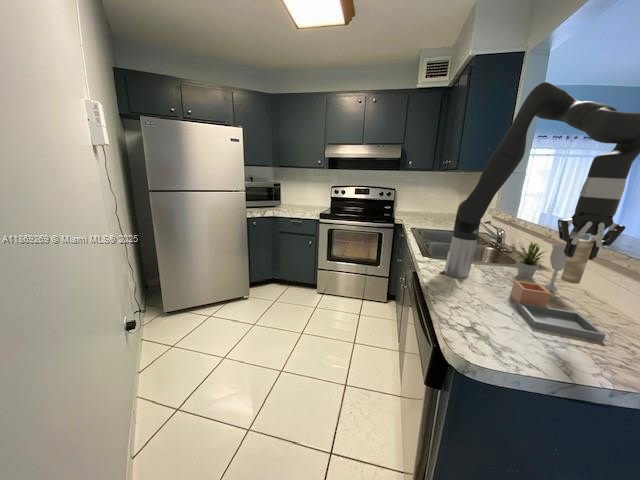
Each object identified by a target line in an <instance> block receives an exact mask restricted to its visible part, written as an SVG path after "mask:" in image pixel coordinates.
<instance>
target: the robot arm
mask: <svg viewBox="0 0 640 480" xmlns="http://www.w3.org/2000/svg"><path fill="white" fill-rule="evenodd" d="M535 117H537V118H539V119H542V120H548V121H557V122H562V123H565V124H567V126H570V127H572V128H574V129H576V130H579V131H580V132H581V131H582V132H584V133H585V134H586V135H587V136H588V137H589V138H590V139H591V140H593V141H595V142H598V143H602V144H611V145H612V144H616V145H615V146H614V147H613V149H612V150H611V151H610V152H609V153H608V152H607V153H603V154H602V153H601V154H598V155H597V156H594V158H593V160H592V161H591V164H590V167H589V169H588V173H587V177H586V178H585V181H584V183H583V185H582V187H581V189H580V192H579V196H578V200H577V203H576V206H575V209H574V214H572V216H571V217H570V218H567V219H562V218H559V219H558V220H557V229H558V238H559V240H562V241H564V242H566V244H565V245H564V246H565V249H564V254H565V255H566V256H567V257H573V254H574V251H575V248H576V245H575V244H576V243H577V242H578V240H579V239H581V238H583V237H584V236H585V234H586V235H587V234H589V238H590V240H589V241H592V242H594V245H593V248H592V250H591V253H590V256H589V259H588V261H589V260H590V261H593V260H594V259H596V258H597V256H598V253H599V250H600V248H601V247H605V246H606V247H610V246H612V244H613V243H614V242H615V241H616V240H617V238H619V236H620V235H621V234H622V233H623V232H624V231H625V229H626V226H625V225H622V224H617V223H615V222H614V220H613V218H614V216H615V215H616V213H617V210H618V208H619V205H620V202H621V201H622V200H621V198H622V197H623V194H624V191H625V187H626V183H627V179H628V176H629V174H630V171H631V169H632V165H633V163H634V161H635V160H636V159H637V157H638V156H639V155H640V112H626V111H623V112H622V111H618V110H617V109H616V107H613V106H611V105H609V104H605V103H601V102H597V101H591V100H584V101H582V100H581V101H580V100H578V99H576V98H574V96H572V95H571V94H569V92H567V91H566V90H565V89H564V88H563V89H562V88H560V87H559V86H557V85H556V84H553V83H551V82H548V81H543V82H540V83H539V84H538V85H536V86H535V87H534V88H533V89H532V90H531V91H530V93H528V94H527V96H526V98H525V100H524V101H523V103H522V105H521V107H520V108H519V109H518V112H517V114H516V116H515V117H514V120H513V121H512V123H511V125H510V127H509V129H508V130H507V131H506V134H505V135H504V137H503V138H502V140H501V141H500V143H499V144H498V145H497V147H496V148H495V150H494V152H493V153H492V154H491V156H490V158H489V160H488V162H487V163H486V164H485V166H484V168H483V171H482V173H481V175H480V178H479V179H478V182H477V184H476V186H475V187H474V189H473V190H472V191H471V193H470V194H469V195H468V196H467V198H466V199H464V200H463V201H462V202H460V203H459V205H458V206H457V210H456V216H455V220H454V225H453V233H452V237H451V244H450V247H449V250H448V251H447V257H446V260H445V266H444V270H443V271H444V274H445V276H446V277H451V278H453V279H458V278H463V279H466V278H469V277H470V275H471V274H470V273H471V272H470V271H471V269H472V264H473V261H474V256H475V252H476V246H477V242H478V240H479V239H478V238H479V233H480V225H481V222H482V218H483V217H484V216H485V213H486V212H487V210H488V208H489V206H490V205H491V203H492V201H493V199H494V198H495V196H496V194H497V193H498V192H499V191H500V189H501V188H502V187H503V186H504V184H505V183H506V182H507V181H508V179H509V178H510V177H511V175H512V174H513V173H514V172H515V170H516V169H517V167H518V166H519V165H520V163H521V161H522V160H523V158H524V156H525V153H526V148H527V145H526V144H527V135H528V131H529V128H530V125H531V124H532V121H533V120H534V118H535ZM571 225H572V226H573V228H572V229H571V231H570V230H569V229H570V226H571ZM606 229H608V230H607V232H606V233H605V230H606ZM604 233H605V234H604Z"/></svg>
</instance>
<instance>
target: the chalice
mask: <svg viewBox="0 0 640 480" xmlns="http://www.w3.org/2000/svg"><path fill="white" fill-rule="evenodd" d="M565 246H566V245H562V244H561V245H560V244H552V250H551V252H550V256H549V260H550V265H551V269H553V270H554V272H553V273H552V277H551V278H550V282H549V283H546V284H545V285H543V288H545V289H546V290H548V291H549V290H550V291H554V292H555V291H559V289H558V286H557V285H555V282H556V281H557V276H558V272H559V271H562V270H564V268H565V265H566V262H567V259H568V257H567V256H566V255H565V254H564V249H565Z"/></svg>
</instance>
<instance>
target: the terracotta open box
mask: <svg viewBox="0 0 640 480" xmlns="http://www.w3.org/2000/svg"><path fill="white" fill-rule="evenodd" d="M550 296H551V292H549V290H548V289H547V288H545V287H544V286H543V285H541V284H540V283H533V282H529V281H528V282H527V281H521V280H515V279H514V280H513V285H512V288H511V291H510V293H509V297H511V299H513V301H514V302H515V303H516V305H518V302H520V303H526V304H531V305H537V306H543V307H547V306H548V302H549V300H550V298H551V297H550Z"/></svg>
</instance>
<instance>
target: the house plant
mask: <svg viewBox="0 0 640 480" xmlns="http://www.w3.org/2000/svg"><path fill="white" fill-rule="evenodd" d="M517 245H518V246H517V247H519V248H520V249H521V251H518V250H515V249H514V251H515V253H513V255H519V256H518V258H520V259H521V260H518V266H517V268H518V269H517V276H519V277H522V278H525V279H532V278H533V277H534V275H535V273H536V271H537V270H538V268H539V264H538V263H541V262H542V263H544V261H541V258H544V255H543V256H541V255H542V254H544V253H546V252H547V250H545V251H541V252H540V253H539V251H540V248H541V247H540V245H539V242H536V243H533V241H530V244H529V246H528V250H526V249H525V246H524V245H523V244H522V243H521V242H519V244H517ZM527 251H528V252H527Z"/></svg>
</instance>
